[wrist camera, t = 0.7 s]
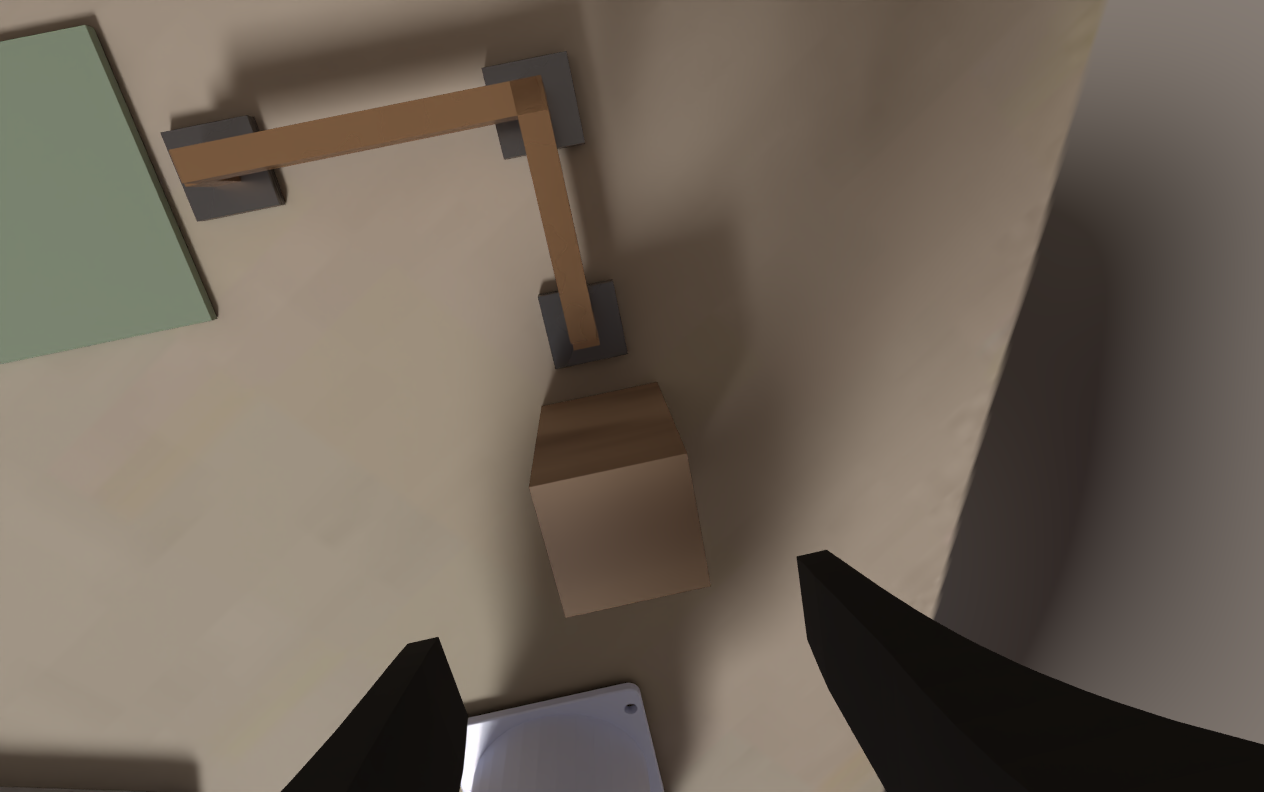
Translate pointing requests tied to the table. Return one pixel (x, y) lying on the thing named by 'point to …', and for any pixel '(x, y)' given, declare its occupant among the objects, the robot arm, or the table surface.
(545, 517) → the block
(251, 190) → the brown angled rail
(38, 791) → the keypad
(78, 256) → the mat
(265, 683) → the table surface
